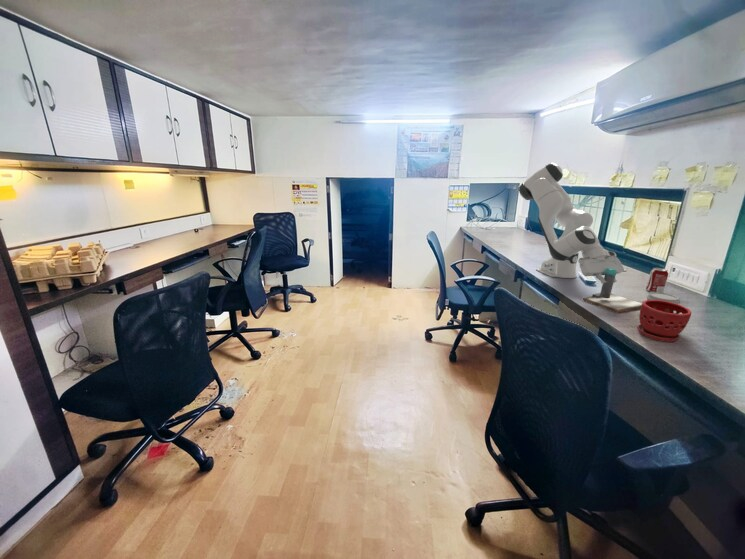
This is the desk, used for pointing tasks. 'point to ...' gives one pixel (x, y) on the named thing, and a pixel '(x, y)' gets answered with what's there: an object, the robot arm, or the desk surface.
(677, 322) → the plant pot
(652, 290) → the soda can
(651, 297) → the disposable coffee cup
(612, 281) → the ball
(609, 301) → the clipboard
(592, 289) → the desk surface
